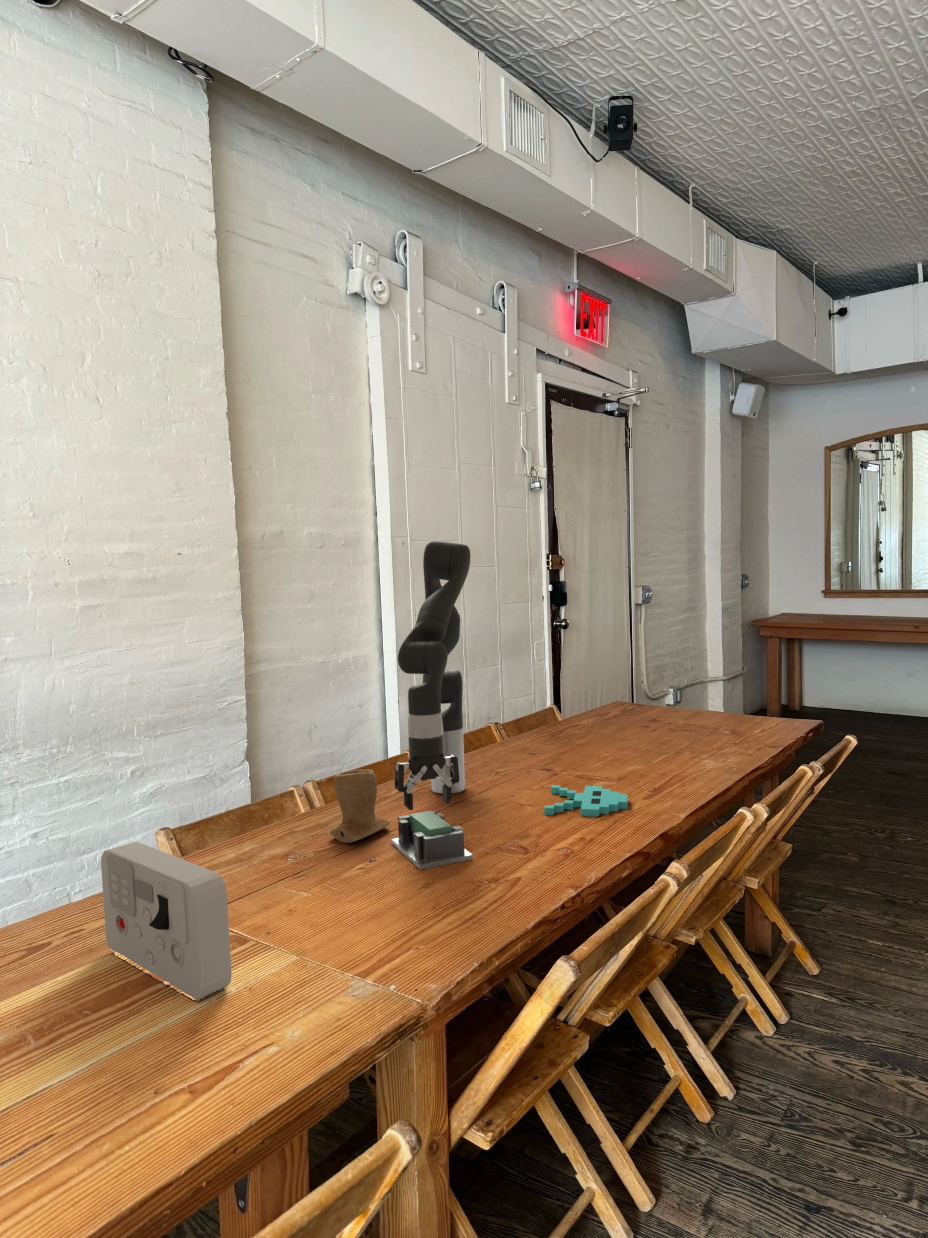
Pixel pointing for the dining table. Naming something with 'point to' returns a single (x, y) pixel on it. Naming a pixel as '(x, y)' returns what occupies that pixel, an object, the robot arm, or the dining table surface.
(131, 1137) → the dining table surface
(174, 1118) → the dining table surface
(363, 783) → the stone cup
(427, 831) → the green block
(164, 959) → the grey button box
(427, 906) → the dining table surface
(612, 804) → the alien figure
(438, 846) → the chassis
